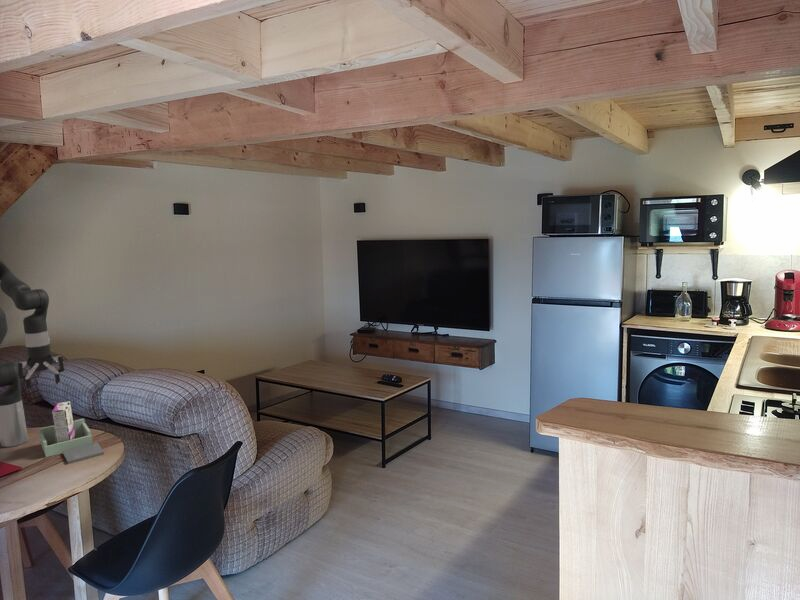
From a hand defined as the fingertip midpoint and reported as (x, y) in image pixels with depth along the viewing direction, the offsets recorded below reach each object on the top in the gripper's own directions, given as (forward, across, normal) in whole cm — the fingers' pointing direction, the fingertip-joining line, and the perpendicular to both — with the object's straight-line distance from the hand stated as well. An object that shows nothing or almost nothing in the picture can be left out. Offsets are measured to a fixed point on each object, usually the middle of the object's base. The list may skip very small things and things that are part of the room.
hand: (43, 385), depth 210 cm
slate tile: (+28, -9, +7) cm, 30 cm away
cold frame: (+28, -6, -8) cm, 29 cm away
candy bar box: (+28, -6, -8) cm, 30 cm away
